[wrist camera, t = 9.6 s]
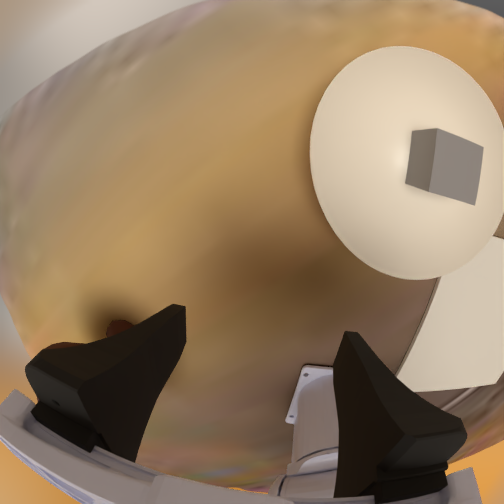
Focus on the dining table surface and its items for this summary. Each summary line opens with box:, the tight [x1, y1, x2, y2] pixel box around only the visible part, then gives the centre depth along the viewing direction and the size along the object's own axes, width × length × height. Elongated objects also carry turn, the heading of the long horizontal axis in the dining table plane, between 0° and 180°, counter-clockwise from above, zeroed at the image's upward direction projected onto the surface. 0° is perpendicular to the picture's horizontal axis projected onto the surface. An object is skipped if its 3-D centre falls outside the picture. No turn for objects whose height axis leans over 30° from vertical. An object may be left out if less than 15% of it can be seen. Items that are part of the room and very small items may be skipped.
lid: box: [309, 46, 504, 280], centre depth 11 cm, size 14×14×4 cm
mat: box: [395, 236, 504, 392], centre depth 20 cm, size 18×18×1 cm
